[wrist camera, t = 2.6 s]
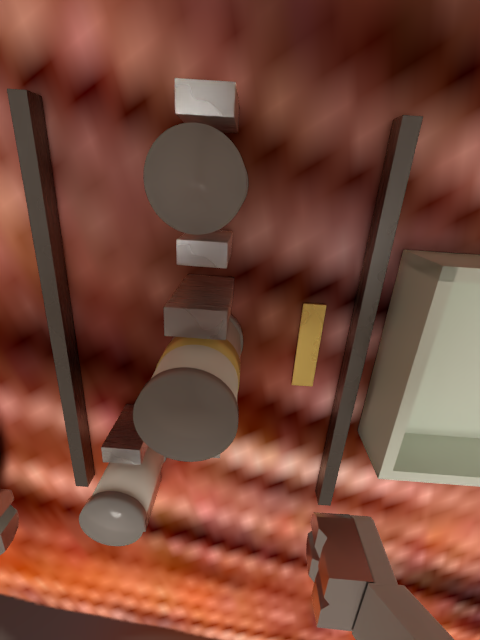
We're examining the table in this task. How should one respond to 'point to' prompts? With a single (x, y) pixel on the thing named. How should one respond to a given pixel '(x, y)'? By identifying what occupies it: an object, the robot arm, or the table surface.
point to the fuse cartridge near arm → (195, 178)
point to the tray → (428, 374)
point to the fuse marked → (192, 397)
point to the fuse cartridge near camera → (122, 501)
